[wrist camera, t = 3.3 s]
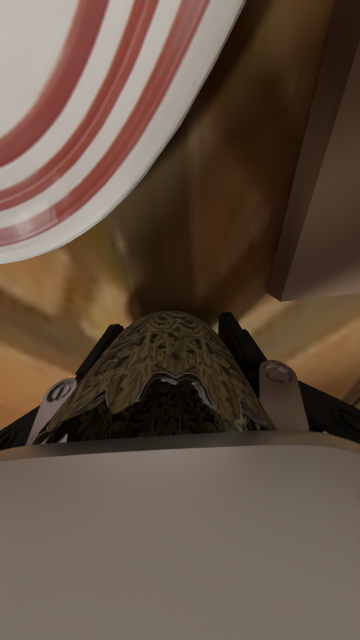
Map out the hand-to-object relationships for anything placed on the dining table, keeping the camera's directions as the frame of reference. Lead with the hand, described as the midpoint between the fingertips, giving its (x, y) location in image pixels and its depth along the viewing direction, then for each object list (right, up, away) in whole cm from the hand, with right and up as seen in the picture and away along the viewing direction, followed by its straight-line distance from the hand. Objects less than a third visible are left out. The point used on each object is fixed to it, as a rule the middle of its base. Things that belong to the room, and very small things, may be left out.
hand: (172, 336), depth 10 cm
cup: (0, +1, +1) cm, 2 cm away
